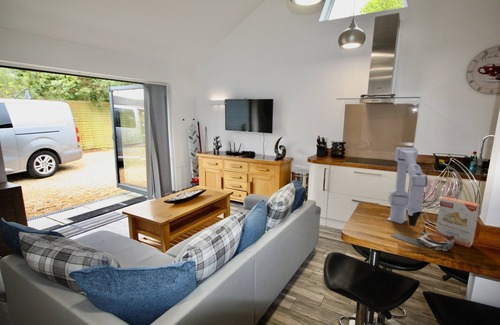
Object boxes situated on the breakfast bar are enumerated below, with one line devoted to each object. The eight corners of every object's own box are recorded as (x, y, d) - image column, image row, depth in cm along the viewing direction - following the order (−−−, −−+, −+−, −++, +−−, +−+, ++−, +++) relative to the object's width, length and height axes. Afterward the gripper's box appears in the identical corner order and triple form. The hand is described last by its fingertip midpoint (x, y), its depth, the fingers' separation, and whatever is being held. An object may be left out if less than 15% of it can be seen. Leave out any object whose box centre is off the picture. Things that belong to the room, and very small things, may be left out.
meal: (424, 226, 131) (456, 235, 121) (422, 234, 132) (454, 244, 122) (416, 235, 121) (450, 246, 111) (414, 243, 121) (448, 255, 112)
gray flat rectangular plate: (394, 233, 133) (394, 232, 133) (427, 243, 122) (427, 243, 122) (390, 236, 129) (390, 235, 129) (423, 247, 118) (423, 246, 118)
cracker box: (434, 237, 129) (440, 198, 125) (438, 234, 132) (444, 195, 129) (469, 248, 118) (476, 206, 114) (472, 244, 121) (480, 203, 117)
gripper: (410, 194, 129) (407, 219, 131) (401, 200, 119) (398, 227, 122) (426, 197, 124) (423, 223, 126) (418, 204, 114) (415, 231, 117)
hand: (412, 225), depth 124 cm, fingers closed
